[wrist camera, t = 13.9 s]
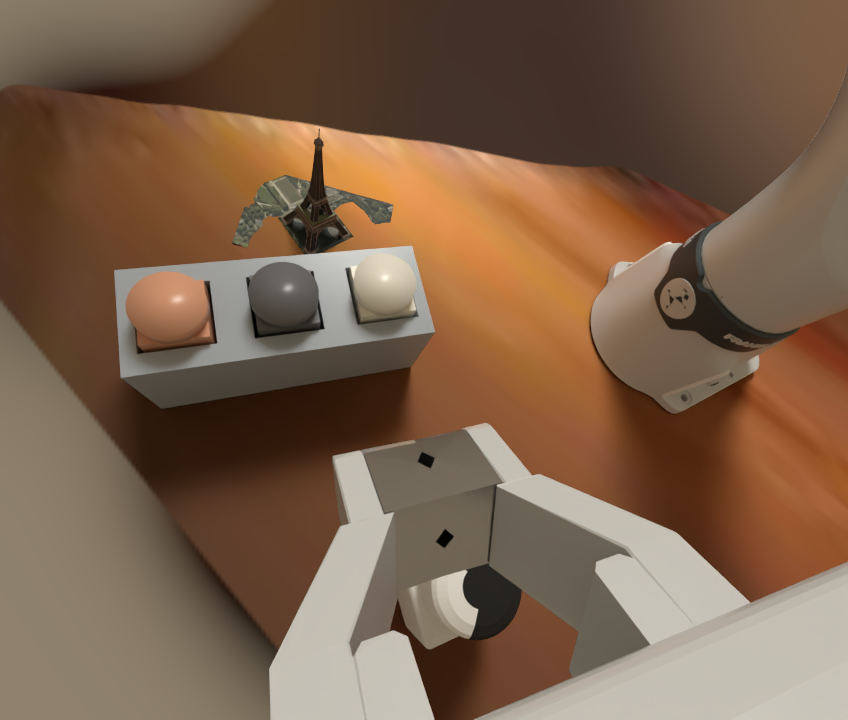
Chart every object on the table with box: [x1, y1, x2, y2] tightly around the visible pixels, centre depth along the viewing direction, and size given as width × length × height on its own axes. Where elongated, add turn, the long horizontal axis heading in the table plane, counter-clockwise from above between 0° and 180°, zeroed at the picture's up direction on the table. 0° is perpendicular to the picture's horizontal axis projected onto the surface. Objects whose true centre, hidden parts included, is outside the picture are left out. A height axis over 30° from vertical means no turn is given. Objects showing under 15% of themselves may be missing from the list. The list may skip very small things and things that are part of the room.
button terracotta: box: [125, 271, 217, 353], centre depth 33 cm, size 5×5×8 cm
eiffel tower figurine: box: [232, 129, 393, 255], centre depth 41 cm, size 15×10×13 cm
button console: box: [114, 246, 435, 409], centre depth 38 cm, size 22×8×9 cm, turn 104°
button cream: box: [348, 253, 417, 325], centre depth 38 cm, size 5×5×8 cm
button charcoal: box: [248, 262, 320, 338], centre depth 35 cm, size 5×5×8 cm
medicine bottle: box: [398, 563, 522, 649], centre depth 33 cm, size 7×7×12 cm
